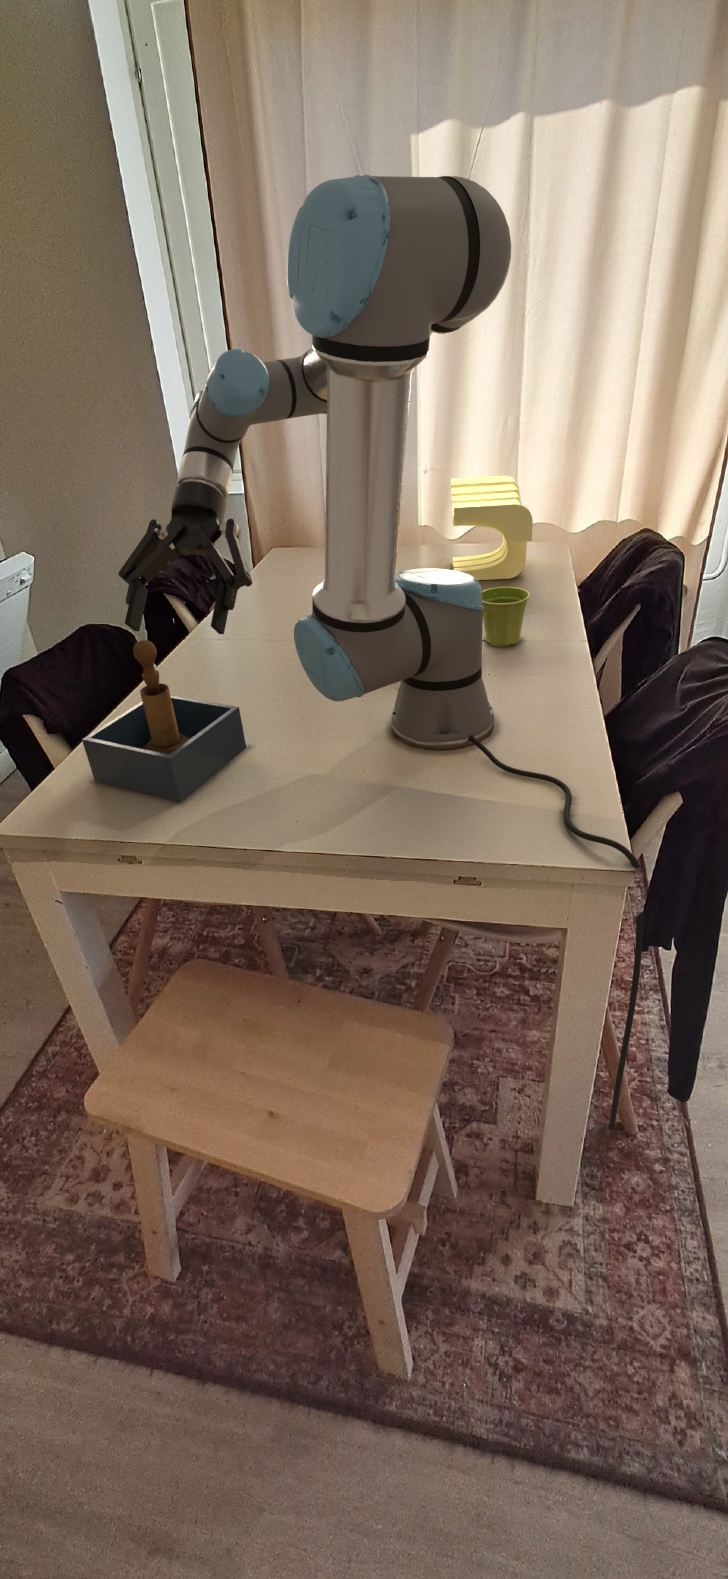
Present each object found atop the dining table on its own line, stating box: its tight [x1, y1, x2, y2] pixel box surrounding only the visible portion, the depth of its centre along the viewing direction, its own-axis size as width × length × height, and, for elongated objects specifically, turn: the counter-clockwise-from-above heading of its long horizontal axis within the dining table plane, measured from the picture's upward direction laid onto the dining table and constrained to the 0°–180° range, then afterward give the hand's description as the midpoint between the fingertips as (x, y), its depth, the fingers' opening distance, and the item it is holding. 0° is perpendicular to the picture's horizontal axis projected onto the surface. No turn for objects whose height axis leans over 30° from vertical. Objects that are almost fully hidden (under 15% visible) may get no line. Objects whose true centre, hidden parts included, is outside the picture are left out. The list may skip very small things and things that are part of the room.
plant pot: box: [482, 586, 531, 647], centre depth 139 cm, size 9×9×9 cm
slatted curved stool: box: [450, 475, 534, 581], centre depth 173 cm, size 30×16×18 cm, turn 176°
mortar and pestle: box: [132, 639, 190, 755], centre depth 106 cm, size 7×6×18 cm
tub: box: [81, 694, 247, 803], centre depth 110 cm, size 16×16×7 cm
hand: (173, 629), depth 108 cm, fingers open, 13 cm apart
